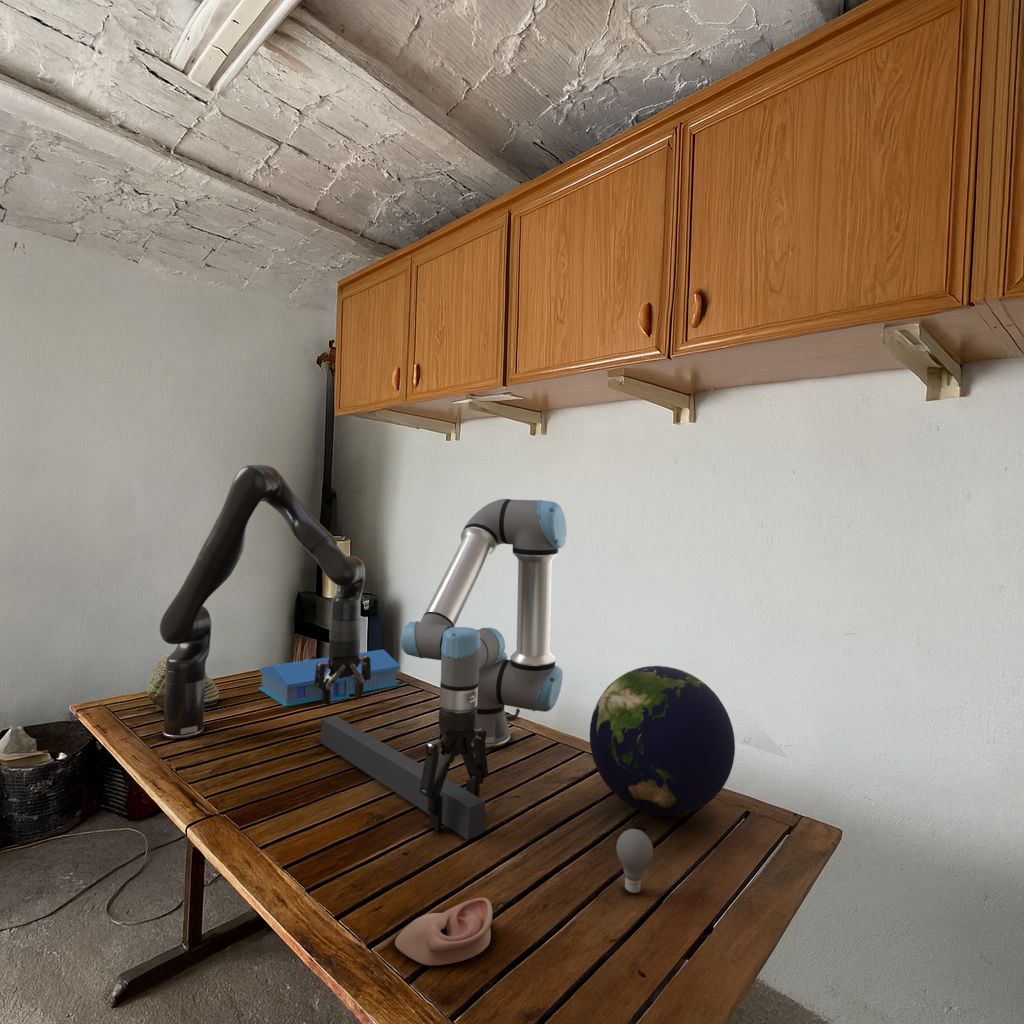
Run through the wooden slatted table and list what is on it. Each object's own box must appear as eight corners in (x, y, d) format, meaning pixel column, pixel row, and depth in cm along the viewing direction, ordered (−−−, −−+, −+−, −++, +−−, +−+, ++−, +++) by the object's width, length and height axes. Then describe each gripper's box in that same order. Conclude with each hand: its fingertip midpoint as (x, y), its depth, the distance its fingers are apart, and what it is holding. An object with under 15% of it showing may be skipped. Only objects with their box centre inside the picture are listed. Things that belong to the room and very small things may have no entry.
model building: (289, 709, 186) (291, 675, 185) (258, 688, 204) (259, 657, 204) (403, 687, 212) (405, 657, 212) (366, 670, 230) (368, 643, 230)
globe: (569, 823, 127) (576, 674, 126) (605, 767, 154) (610, 645, 154) (726, 862, 115) (734, 698, 115) (734, 794, 143) (741, 662, 143)
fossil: (144, 707, 182) (145, 655, 182) (212, 696, 194) (213, 647, 194) (151, 716, 175) (153, 662, 175) (221, 703, 188) (223, 653, 188)
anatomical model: (387, 929, 88) (416, 881, 99) (385, 957, 88) (415, 906, 99) (479, 947, 85) (498, 895, 96) (478, 976, 85) (497, 921, 96)
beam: (320, 742, 163) (321, 718, 162) (334, 739, 165) (335, 715, 165) (467, 840, 119) (469, 807, 119) (483, 833, 122) (485, 801, 122)
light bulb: (610, 879, 108) (613, 822, 108) (644, 879, 109) (647, 822, 109) (619, 902, 102) (622, 840, 102) (655, 901, 103) (658, 840, 103)
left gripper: (362, 630, 166) (360, 692, 166) (311, 637, 156) (308, 702, 157) (377, 635, 161) (375, 699, 161) (325, 642, 151) (323, 710, 151)
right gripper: (426, 723, 115) (421, 847, 116) (509, 702, 130) (504, 812, 130) (403, 712, 121) (398, 830, 121) (485, 693, 135) (481, 798, 136)
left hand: (342, 700), depth 159 cm, fingers open, 8 cm apart
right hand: (453, 820), depth 126 cm, fingers open, 8 cm apart
